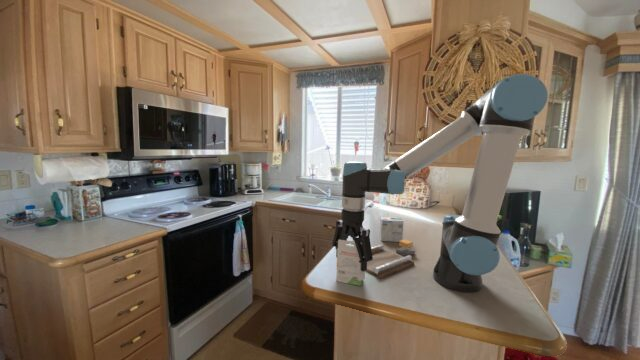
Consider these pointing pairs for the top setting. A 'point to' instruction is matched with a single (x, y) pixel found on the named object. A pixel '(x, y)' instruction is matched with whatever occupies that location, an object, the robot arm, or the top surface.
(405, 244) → the snap latch
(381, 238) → the light bulb box
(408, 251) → the latch housing
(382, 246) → the steel rails
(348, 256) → the ink box
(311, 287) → the top surface
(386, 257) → the rail board
